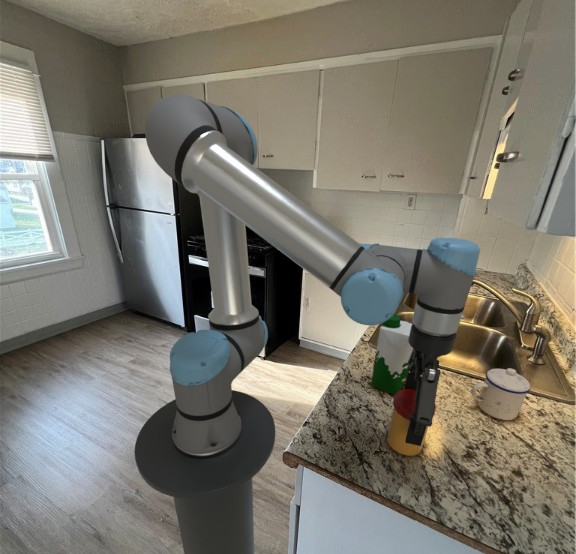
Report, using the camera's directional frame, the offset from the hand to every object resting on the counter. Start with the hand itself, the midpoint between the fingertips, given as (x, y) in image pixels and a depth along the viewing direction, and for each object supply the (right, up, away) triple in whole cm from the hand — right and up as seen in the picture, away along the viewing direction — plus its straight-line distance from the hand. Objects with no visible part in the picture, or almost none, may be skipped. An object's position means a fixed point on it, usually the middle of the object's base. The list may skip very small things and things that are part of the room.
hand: (410, 418), depth 65 cm
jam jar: (0, -6, +3) cm, 7 cm away
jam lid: (0, +4, -2) cm, 4 cm away
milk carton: (+2, +3, +21) cm, 22 cm away
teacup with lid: (+26, -2, +14) cm, 29 cm away
